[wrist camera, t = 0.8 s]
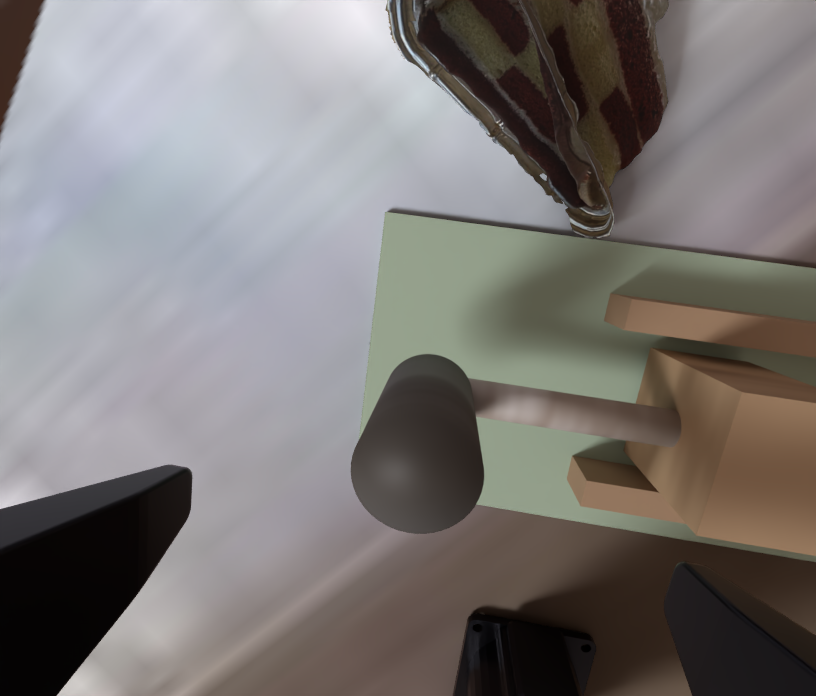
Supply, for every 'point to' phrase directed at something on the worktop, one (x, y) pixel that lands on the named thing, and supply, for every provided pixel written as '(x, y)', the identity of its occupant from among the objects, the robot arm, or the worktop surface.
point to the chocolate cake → (548, 84)
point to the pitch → (577, 346)
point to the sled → (636, 423)
